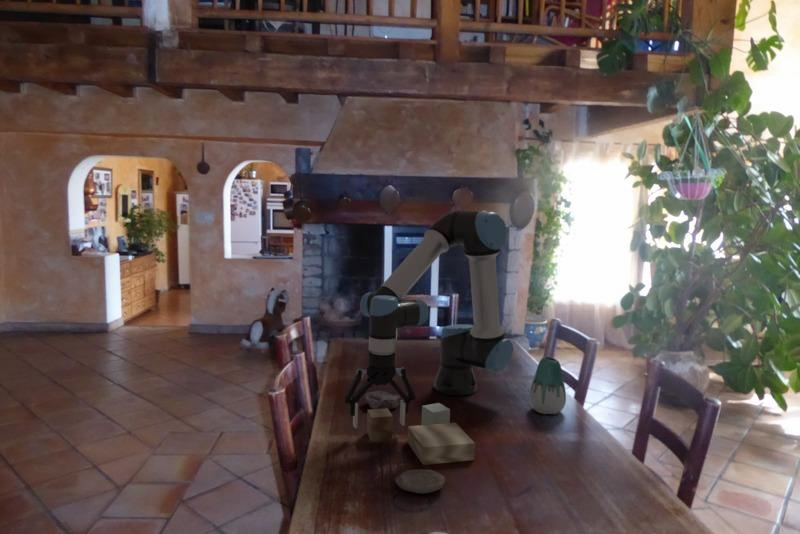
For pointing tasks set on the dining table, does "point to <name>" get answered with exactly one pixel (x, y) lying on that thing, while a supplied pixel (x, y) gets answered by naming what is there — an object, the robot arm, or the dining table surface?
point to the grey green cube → (435, 414)
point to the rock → (382, 400)
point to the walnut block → (379, 424)
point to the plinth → (440, 443)
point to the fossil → (420, 481)
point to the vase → (548, 387)
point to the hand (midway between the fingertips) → (378, 425)
